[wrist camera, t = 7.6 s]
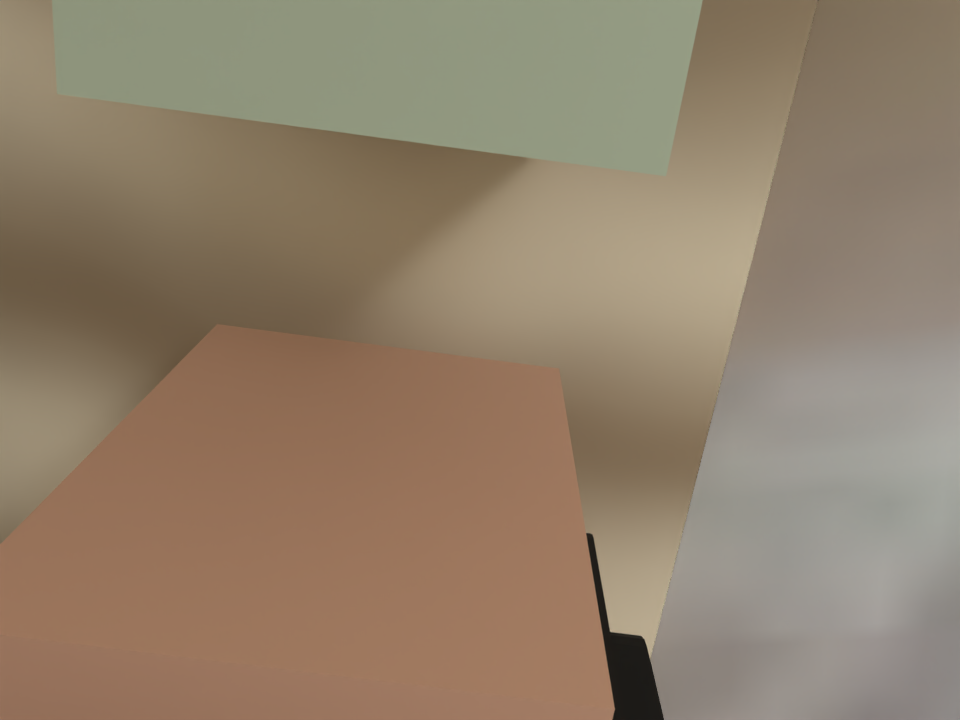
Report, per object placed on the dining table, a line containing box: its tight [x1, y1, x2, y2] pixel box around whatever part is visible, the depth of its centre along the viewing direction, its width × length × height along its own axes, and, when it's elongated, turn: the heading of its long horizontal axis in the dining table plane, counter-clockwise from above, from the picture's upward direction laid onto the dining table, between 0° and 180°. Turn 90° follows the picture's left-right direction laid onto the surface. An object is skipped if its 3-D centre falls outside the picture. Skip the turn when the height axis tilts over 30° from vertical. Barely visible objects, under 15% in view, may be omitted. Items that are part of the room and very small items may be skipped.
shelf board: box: [0, 0, 818, 658], centre depth 13 cm, size 26×14×3 cm, turn 173°
